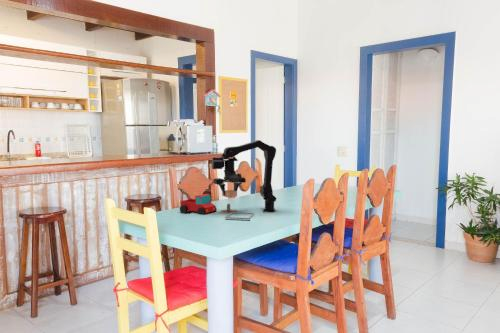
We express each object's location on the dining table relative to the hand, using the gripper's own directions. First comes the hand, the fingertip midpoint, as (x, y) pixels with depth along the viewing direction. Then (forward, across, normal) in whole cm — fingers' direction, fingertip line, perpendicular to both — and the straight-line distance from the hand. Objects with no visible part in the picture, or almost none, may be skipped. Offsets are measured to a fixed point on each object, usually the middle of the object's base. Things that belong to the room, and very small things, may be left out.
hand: (229, 195), depth 230 cm
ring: (+1, 0, 0) cm, 1 cm away
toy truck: (+11, -16, +9) cm, 22 cm away
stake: (+11, 0, +2) cm, 11 cm away
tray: (+11, 0, -14) cm, 18 cm away
